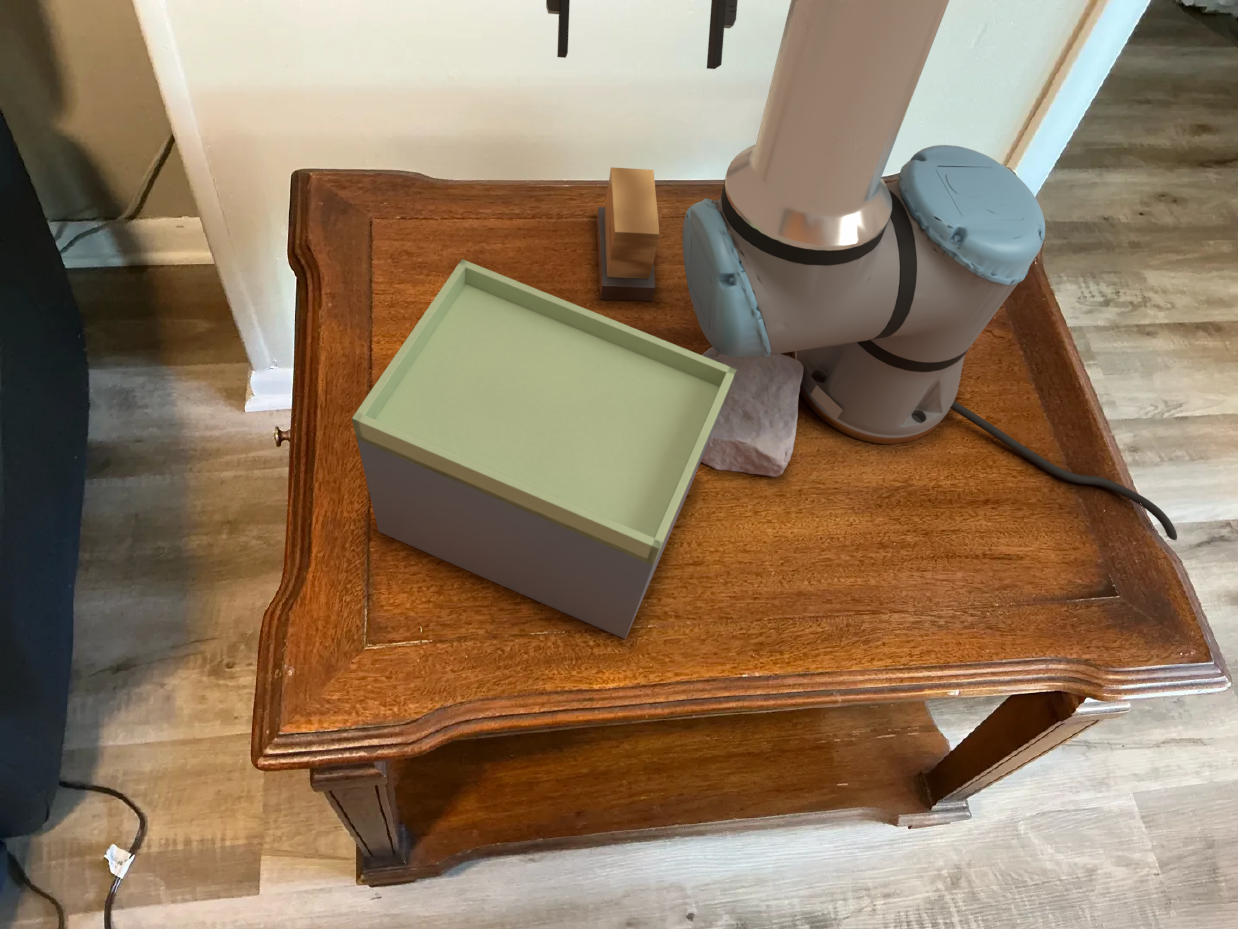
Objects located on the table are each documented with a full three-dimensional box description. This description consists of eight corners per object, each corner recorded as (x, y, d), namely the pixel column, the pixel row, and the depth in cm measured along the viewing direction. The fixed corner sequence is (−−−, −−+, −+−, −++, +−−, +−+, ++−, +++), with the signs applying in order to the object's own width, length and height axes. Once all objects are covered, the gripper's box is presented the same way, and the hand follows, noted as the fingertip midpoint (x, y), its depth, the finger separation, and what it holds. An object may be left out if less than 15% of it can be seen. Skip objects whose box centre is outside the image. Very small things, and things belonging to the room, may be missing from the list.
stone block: (675, 471, 81) (790, 485, 79) (674, 439, 77) (795, 452, 76) (694, 368, 88) (801, 378, 86) (694, 333, 84) (806, 343, 82)
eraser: (645, 223, 93) (658, 162, 86) (652, 301, 88) (666, 242, 81) (596, 221, 93) (604, 158, 86) (600, 299, 88) (609, 239, 81)
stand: (691, 483, 79) (728, 390, 67) (625, 639, 71) (653, 566, 59) (466, 389, 81) (462, 282, 69) (378, 531, 73) (356, 439, 61)
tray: (728, 390, 67) (737, 369, 65) (653, 566, 59) (659, 549, 57) (462, 282, 69) (461, 258, 66) (356, 439, 61) (351, 418, 59)
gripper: (786, -181, 82) (764, 76, 88) (502, -213, 79) (497, 56, 84) (813, -218, 75) (787, 65, 80) (502, -255, 72) (497, 42, 77)
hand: (638, 61), depth 82 cm, fingers open, 13 cm apart
